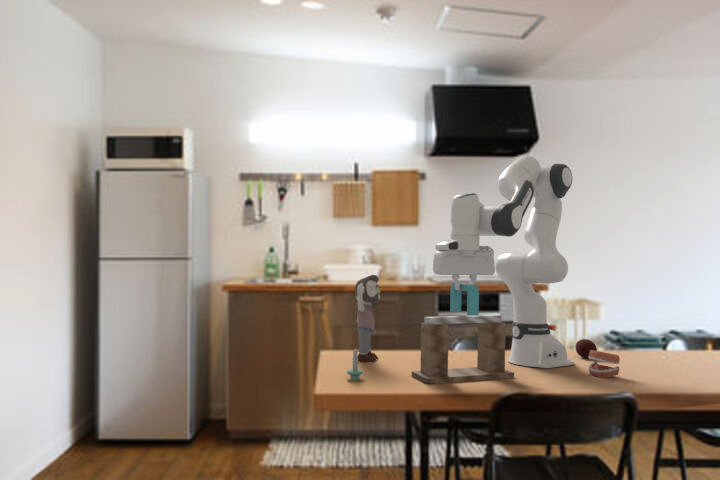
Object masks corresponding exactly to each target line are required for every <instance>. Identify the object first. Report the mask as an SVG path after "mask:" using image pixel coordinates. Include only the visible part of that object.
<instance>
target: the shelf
mask: <svg viewBox="0 0 720 480" xmlns="http://www.w3.org/2000/svg"><path fill="white" fill-rule="evenodd" d="M502 317H503V316H502V315H500V314H491V315H490V314H487V315H486V314H485V315H471V316H470V315H451V316H450V315H448V316H447V315H446V316H424V318H423V321H424V322H420V370H412V371H411V377H412V376H413V377H412V378H414V377H415V380H418V381H420V382H422V383H424V384H425V383H426V385H430V384H429V383H435V384H442V383H441V382H449V383H460V382H472V381H473V382H474V381H487V380H500V379H513V378H515V371H514V372H513V371H510V370H508V369H506V322H504V321H502ZM449 324H451V325H453V324H455V325H457V324H477V362H476V365H477V366H475V367H474V366H471V367H460V368H459V367H457V368H456V367H455V368H449Z"/></svg>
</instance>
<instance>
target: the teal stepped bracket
mask: <svg viewBox="0 0 720 480" xmlns="http://www.w3.org/2000/svg"><path fill="white" fill-rule="evenodd" d="M459 283H460V284H462V290H456V289H455V283H454V282H451V284H450V285H451V288H450V292H449V293H450V295H449V296H450V298H449V300H450V302H449V306H450V307H449V308H450V309H449V312H452V313H457V312H458V313H460V312H462V292H463V291H464V292H466V293H467V294H466V301H467V302H466V316H480V315H479V314H480V313H479V311H480V308H479V307H480V306H479V305H480V291H479V285H478V284H469V283H463V282H462V283H461V282H459Z"/></svg>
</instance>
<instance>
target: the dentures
mask: <svg viewBox="0 0 720 480" xmlns="http://www.w3.org/2000/svg"><path fill="white" fill-rule="evenodd" d="M588 358H589V359H588ZM588 358H587V359H588V360H592V361H593V362H590V364H588V373H589V375H590V376H593V377H598V378H611V377H615V376H618V375H619V373H620V372H619V371H620V366H617V365H619V364H620V359H621V358H620V355H618V354H614V353H609V352H604V351H600V350H597V351H595V350H590V353H589V357H588ZM597 361H599V362H603V363H608V364H612V365H614V364H615V365H616V366H614V367H613V366H607V365H603V364H599V363H598V362H597Z"/></svg>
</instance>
